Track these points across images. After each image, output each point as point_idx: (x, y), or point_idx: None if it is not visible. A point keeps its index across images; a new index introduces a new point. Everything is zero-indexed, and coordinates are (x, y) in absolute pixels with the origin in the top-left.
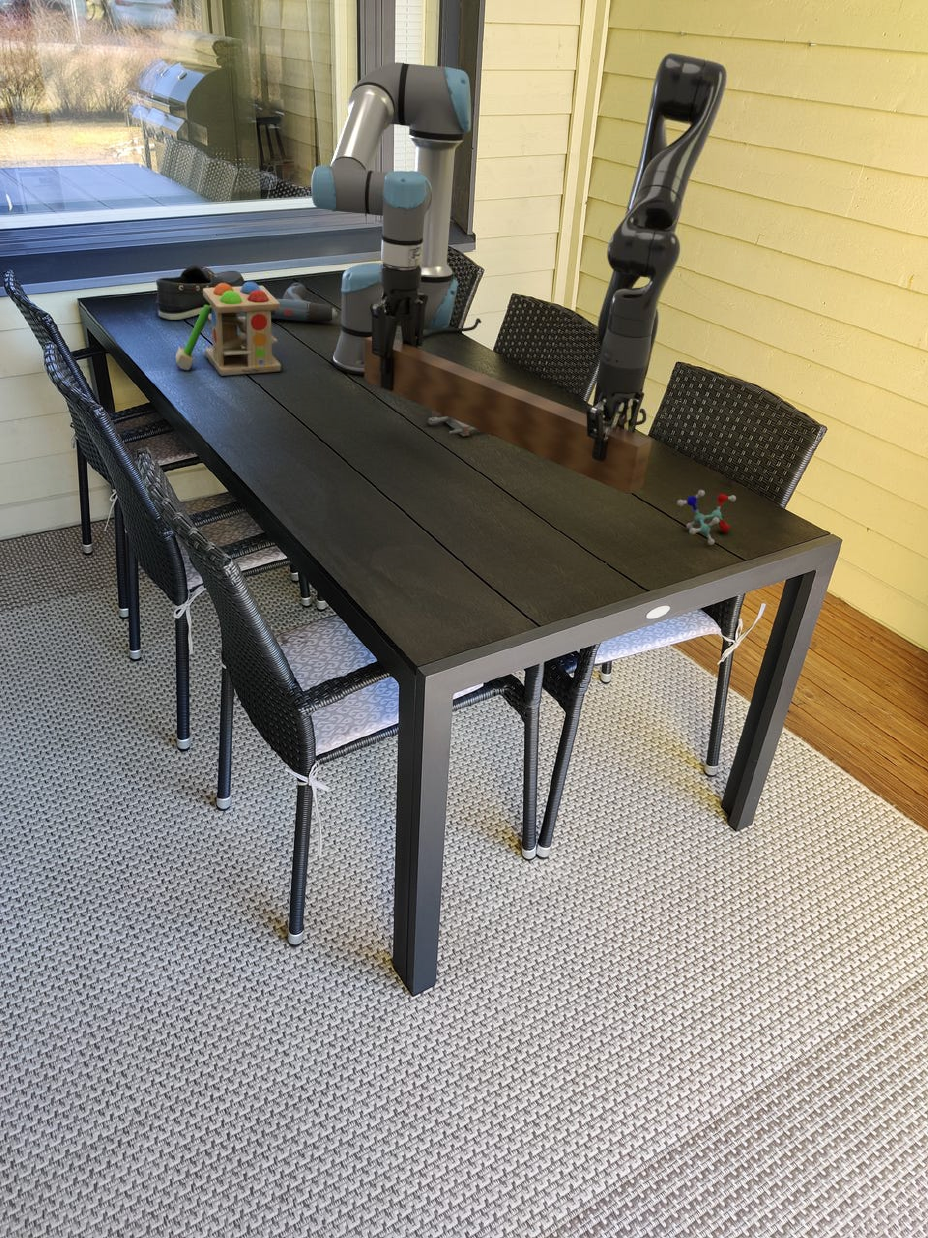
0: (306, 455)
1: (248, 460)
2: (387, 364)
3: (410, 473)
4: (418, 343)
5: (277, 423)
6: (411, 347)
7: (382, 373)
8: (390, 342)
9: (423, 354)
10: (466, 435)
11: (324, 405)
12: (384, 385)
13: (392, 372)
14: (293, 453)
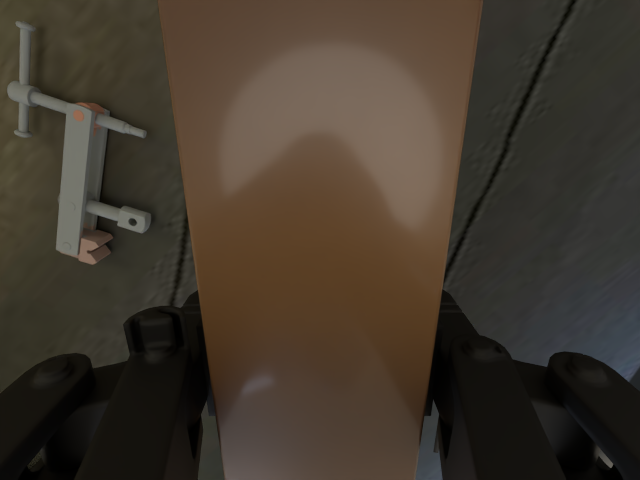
0: (515, 283)
1: (617, 335)
2: (444, 318)
3: None
4: (82, 374)
5: (429, 419)
6: (236, 332)
7: None
8: (544, 462)
9: (275, 89)
10: (98, 105)
11: None
12: None
13: None
14: (526, 306)
